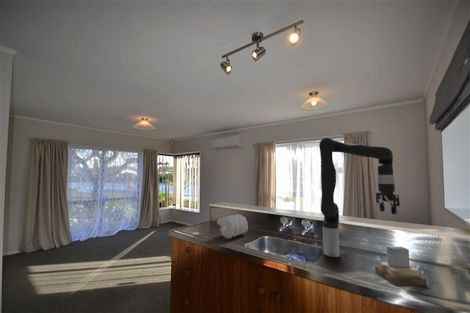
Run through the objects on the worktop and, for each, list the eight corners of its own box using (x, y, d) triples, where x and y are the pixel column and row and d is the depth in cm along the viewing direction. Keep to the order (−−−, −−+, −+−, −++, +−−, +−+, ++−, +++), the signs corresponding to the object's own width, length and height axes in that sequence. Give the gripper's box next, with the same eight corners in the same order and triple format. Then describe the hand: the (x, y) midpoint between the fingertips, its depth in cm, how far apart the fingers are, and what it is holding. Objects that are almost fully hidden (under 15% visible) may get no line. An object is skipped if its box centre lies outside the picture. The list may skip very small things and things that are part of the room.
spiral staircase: (245, 238, 180) (227, 244, 161) (231, 227, 191) (212, 231, 172) (254, 220, 178) (236, 224, 158) (239, 209, 189) (220, 211, 169)
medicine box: (402, 264, 105) (401, 246, 106) (410, 268, 101) (408, 249, 102) (387, 264, 105) (386, 246, 106) (394, 268, 101) (392, 249, 102)
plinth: (375, 272, 109) (374, 260, 110) (401, 272, 110) (400, 260, 110) (396, 286, 95) (395, 272, 96) (426, 286, 96) (425, 272, 96)
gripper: (403, 183, 110) (405, 215, 108) (383, 182, 124) (385, 210, 123) (389, 183, 110) (391, 215, 108) (370, 182, 124) (372, 210, 122)
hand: (387, 212), depth 115 cm, fingers open, 8 cm apart
